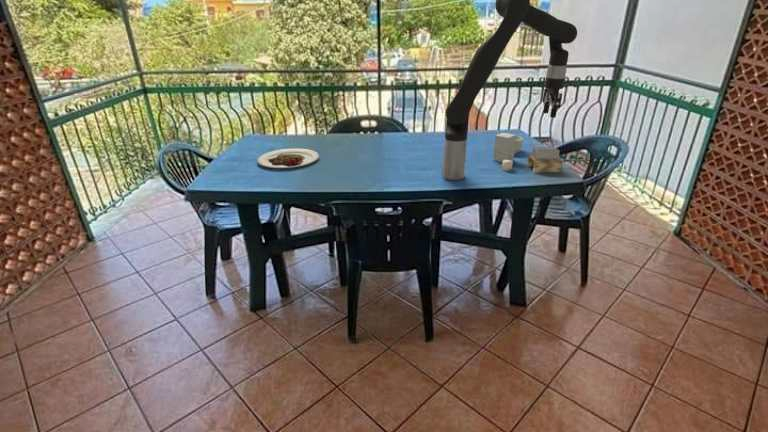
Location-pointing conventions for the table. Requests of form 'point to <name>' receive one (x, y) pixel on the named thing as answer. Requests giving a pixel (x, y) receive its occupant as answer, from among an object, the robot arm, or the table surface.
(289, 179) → the table surface
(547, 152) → the housing
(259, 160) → the plated food
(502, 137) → the supplement box
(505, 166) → the beige cube
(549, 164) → the stand
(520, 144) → the ramekin
